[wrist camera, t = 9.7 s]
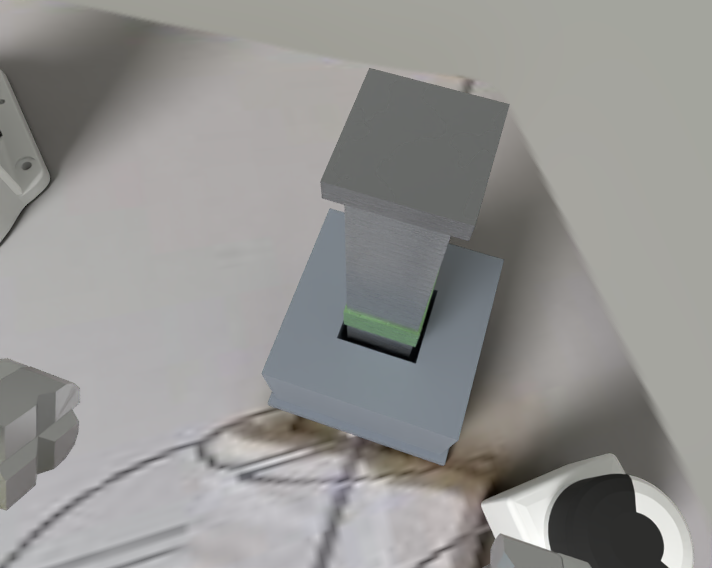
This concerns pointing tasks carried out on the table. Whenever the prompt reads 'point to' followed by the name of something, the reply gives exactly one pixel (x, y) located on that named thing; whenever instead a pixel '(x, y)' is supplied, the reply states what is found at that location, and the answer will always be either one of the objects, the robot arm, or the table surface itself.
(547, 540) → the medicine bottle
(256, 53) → the table surface
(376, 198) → the column
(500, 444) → the table surface
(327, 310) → the stand
